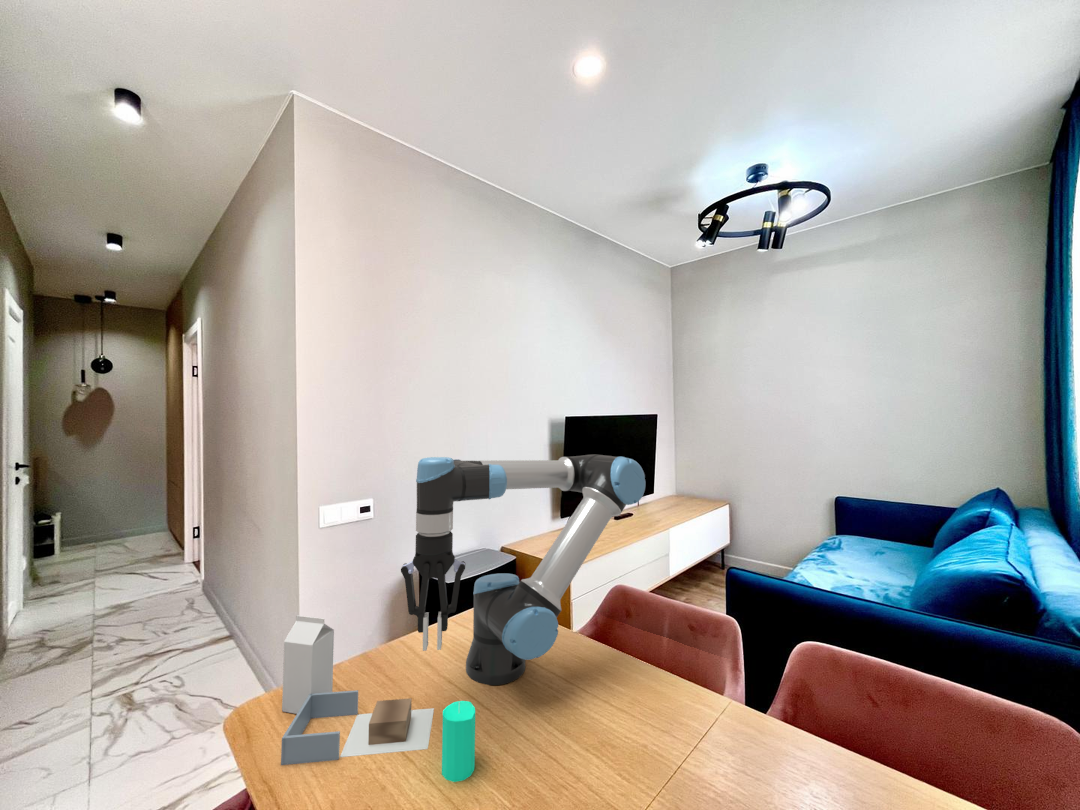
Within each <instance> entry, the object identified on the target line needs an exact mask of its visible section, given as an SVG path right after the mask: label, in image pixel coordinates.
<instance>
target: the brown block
mask: <svg viewBox="0 0 1080 810" xmlns="http://www.w3.org/2000/svg"><path fill="white" fill-rule="evenodd" d="M412 701H413V700H412V697H410V698H398V699H397V698H396V699H386V700H385V699H384V700H376V704H375V706H374V709H373V712H372V713H373V714H372V717H371V719H370V722H369V740H368V745H374V744H385V743H396V742H406V738H407V734H408V729H409V725H410V721H411V710H412Z"/></svg>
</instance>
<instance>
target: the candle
mask: <svg viewBox="0 0 1080 810" xmlns="http://www.w3.org/2000/svg"><path fill="white" fill-rule="evenodd" d="M441 731H442V733H441V734H442V736H441V741H442V742H441V745H442V746H441V750H442V751H441V775H442V777H444V779H445V780H446V781H450V782H453V783H457V782H462V781H465V780H466V779H468V778H469V777H471V776H472V775H473V773H474V771H475V767H476V766H475V762H476V760H475V759H476V753H475V752H476V707H475V706H474V705H473V703H472V702H471V701H467V700H458V701H454V702H452V703H450V704H448V705H447V706H446V707H445V708H444V709H443V710H442V730H441Z"/></svg>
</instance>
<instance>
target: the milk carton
mask: <svg viewBox="0 0 1080 810" xmlns="http://www.w3.org/2000/svg"><path fill="white" fill-rule="evenodd" d="M334 640H335V629H333V628H332V627H330V626H329V625H328V624H326V623H325V618H322V617H315V616H307V615H306V616H304V615H296V617H295V622H294V624H293V625H292V627H291V629H290V630H289V632H288V634H287V635H286V637H285V639H284V640H283V663H282V664H283V665H282V667H283V668H282V669H283V671H282V696H281V697H282V699H281V700H282V702H281V710H282V712H284V713H290V714H296V715H297V713H298V712H299V710H300V708H301V707H302V705H303V704H304V702H305V700H306V699H307V697H308V696H309V694H314V693H328V692H333V685H334V684H333V680H334V678H333V676H334V649H335V648H334V646H335V645H334V643H335V642H334Z"/></svg>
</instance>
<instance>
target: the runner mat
mask: <svg viewBox="0 0 1080 810" xmlns="http://www.w3.org/2000/svg"><path fill="white" fill-rule="evenodd" d="M434 710H435V708H433V707H432V708H422V709H411V721H410V725H409V729H408V734H407V738H406V742H396V743H385V744H374V745H368V740H369V722H370V719H371V717H372V714H373V712H371V713H370V712H369V713H361V714H357V715H356V717H355V719H354V722H353V725H352V727H351V729H350V731H349V735H348V737H347V739H346V740H345V744H344V745H343V748H342V751H341V753H340V754H339V758H346V757H358V756H360V757H361V756H368V755H369V756H370V755H379V754H389V753H401V752H411V751H412V752H413V751H421V750H428V749H429V743H430V738H431V737H430V736H431V733H432V732H431V731H432V723H433V716H434V712H435V711H434Z"/></svg>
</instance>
